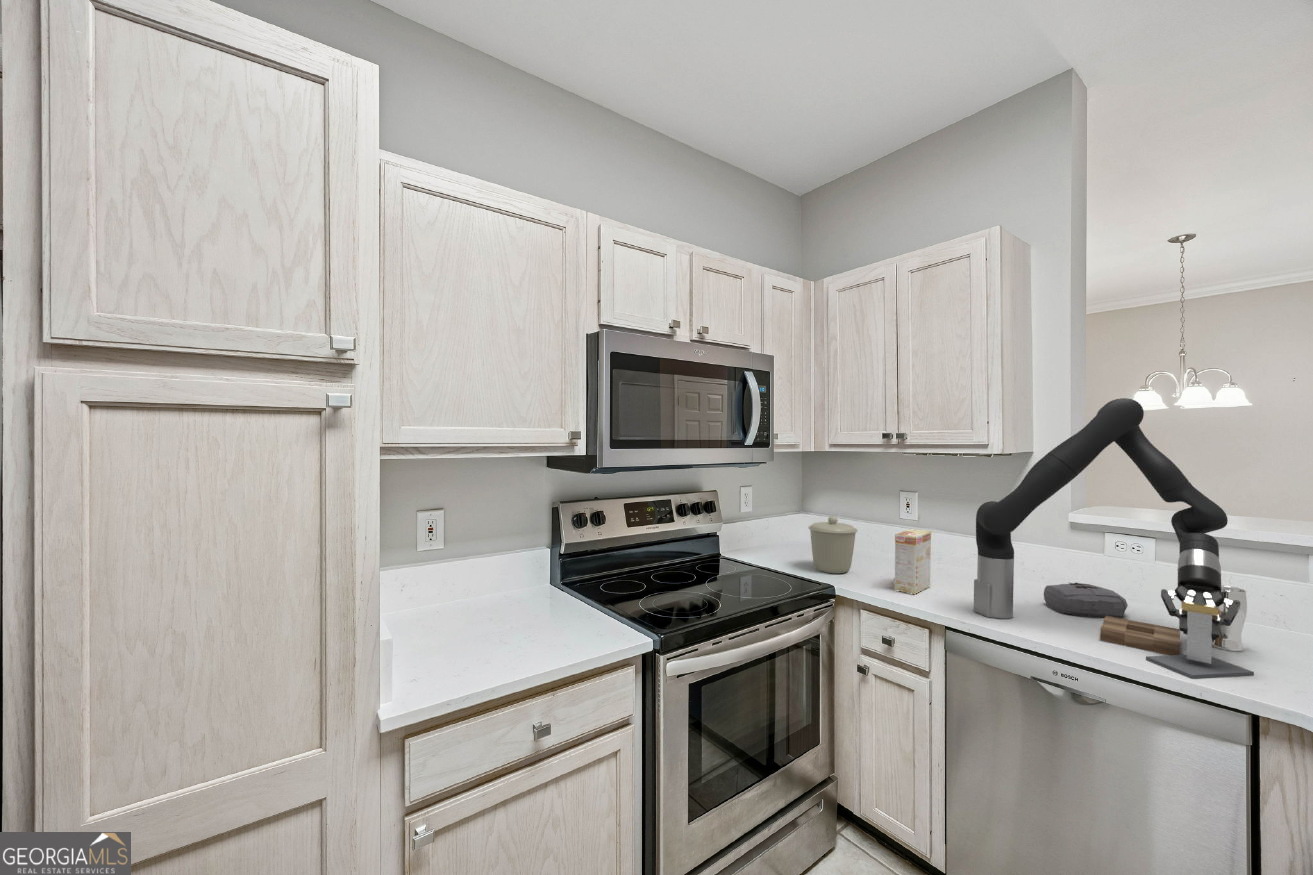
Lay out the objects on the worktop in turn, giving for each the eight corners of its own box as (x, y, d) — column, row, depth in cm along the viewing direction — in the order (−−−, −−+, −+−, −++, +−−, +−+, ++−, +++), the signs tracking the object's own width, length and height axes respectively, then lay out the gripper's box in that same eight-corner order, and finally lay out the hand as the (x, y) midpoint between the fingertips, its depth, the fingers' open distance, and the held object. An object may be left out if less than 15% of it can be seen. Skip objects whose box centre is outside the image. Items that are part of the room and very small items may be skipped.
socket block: (1179, 657, 132) (1180, 644, 132) (1100, 640, 142) (1100, 628, 142) (1179, 640, 143) (1179, 629, 143) (1105, 626, 153) (1105, 615, 153)
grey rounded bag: (1065, 617, 161) (1141, 621, 158) (1065, 589, 161) (1141, 593, 158) (1037, 601, 176) (1106, 605, 173) (1037, 576, 175) (1106, 579, 173)
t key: (1216, 659, 126) (1217, 605, 126) (1217, 665, 123) (1218, 609, 123) (1180, 652, 130) (1181, 599, 130) (1180, 657, 127) (1181, 603, 127)
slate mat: (1192, 678, 120) (1192, 674, 120) (1145, 659, 130) (1145, 656, 130) (1253, 675, 123) (1253, 671, 123) (1203, 657, 132) (1203, 653, 132)
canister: (798, 569, 213) (799, 515, 213) (824, 562, 225) (825, 511, 224) (840, 579, 199) (841, 521, 199) (865, 571, 211) (866, 517, 211)
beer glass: (1198, 641, 142) (1199, 584, 142) (1222, 641, 143) (1224, 584, 143) (1228, 652, 135) (1230, 592, 135) (1254, 652, 136) (1255, 592, 136)
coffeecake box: (910, 582, 196) (911, 528, 196) (931, 586, 191) (932, 531, 191) (893, 590, 185) (894, 533, 185) (915, 595, 180) (916, 536, 180)
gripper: (1159, 558, 137) (1157, 618, 128) (1242, 569, 127) (1246, 634, 118) (1159, 575, 140) (1157, 635, 132) (1240, 587, 131) (1243, 652, 122)
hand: (1199, 634), depth 125 cm, fingers closed on t key, 4 cm apart
